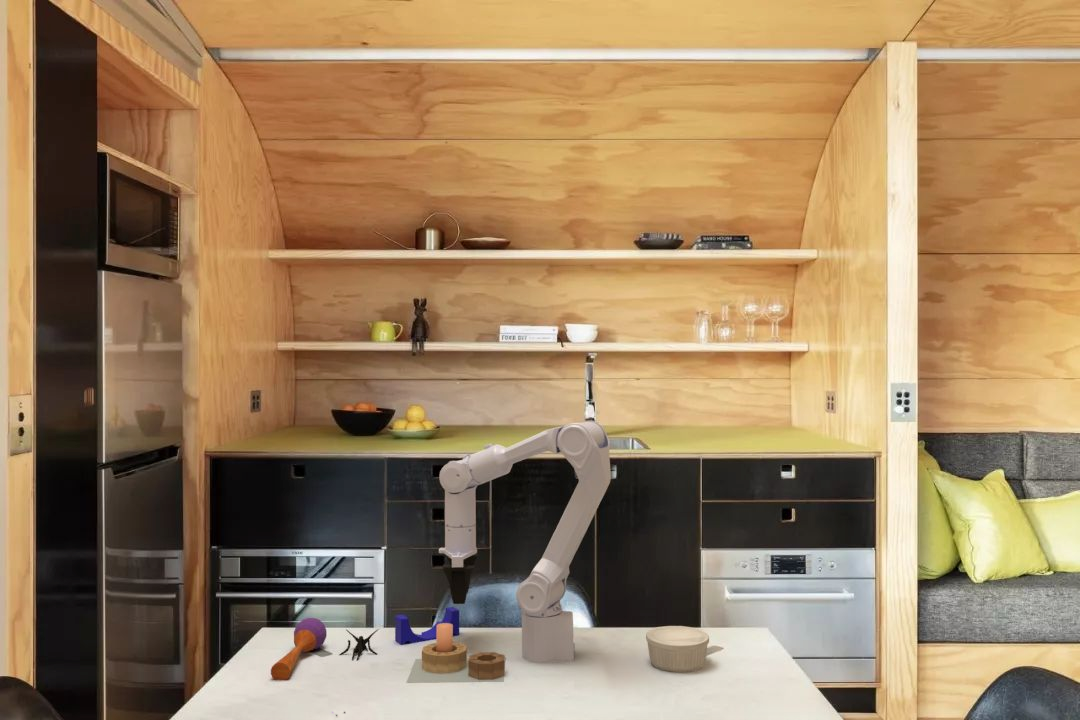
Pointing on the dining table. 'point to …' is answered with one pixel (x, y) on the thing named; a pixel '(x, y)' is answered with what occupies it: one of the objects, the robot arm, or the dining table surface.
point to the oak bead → (444, 659)
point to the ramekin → (677, 648)
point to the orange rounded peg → (444, 638)
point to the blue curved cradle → (406, 634)
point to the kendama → (300, 646)
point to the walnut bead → (486, 665)
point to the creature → (360, 645)
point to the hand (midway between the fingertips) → (460, 598)
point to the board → (442, 675)
